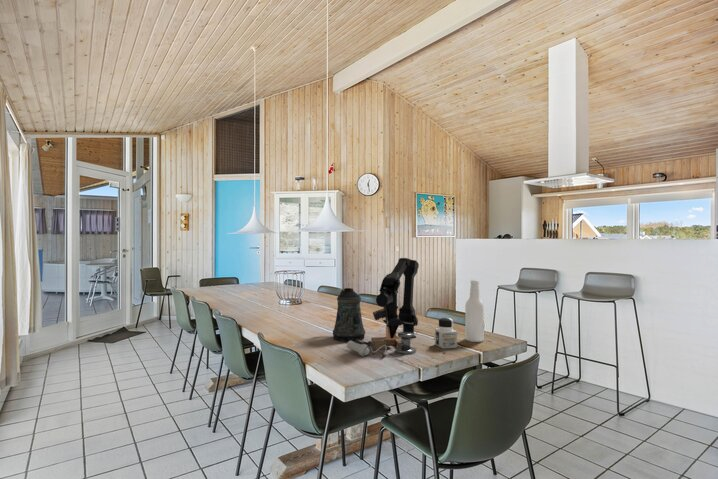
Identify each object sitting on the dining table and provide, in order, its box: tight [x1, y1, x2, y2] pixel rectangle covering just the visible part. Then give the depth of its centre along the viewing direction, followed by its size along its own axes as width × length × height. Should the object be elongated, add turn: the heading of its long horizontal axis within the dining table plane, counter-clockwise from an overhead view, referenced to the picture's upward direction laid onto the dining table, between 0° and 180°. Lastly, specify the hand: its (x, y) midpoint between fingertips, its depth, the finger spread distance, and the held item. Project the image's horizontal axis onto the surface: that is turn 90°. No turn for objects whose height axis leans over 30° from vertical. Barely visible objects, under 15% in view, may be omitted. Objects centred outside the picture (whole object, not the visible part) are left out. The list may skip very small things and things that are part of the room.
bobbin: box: [395, 331, 417, 355], centre depth 178 cm, size 9×9×8 cm
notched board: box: [370, 336, 401, 350], centre depth 189 cm, size 11×16×2 cm
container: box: [434, 317, 458, 349], centre depth 187 cm, size 8×8×13 cm
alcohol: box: [464, 279, 485, 343], centre depth 199 cm, size 9×9×30 cm
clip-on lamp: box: [346, 339, 388, 357], centre depth 174 cm, size 12×6×18 cm
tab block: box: [385, 324, 397, 340], centre depth 186 cm, size 4×4×6 cm
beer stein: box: [332, 287, 366, 343], centre depth 203 cm, size 16×19×25 cm
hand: (390, 336), depth 186 cm, fingers closed on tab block, 4 cm apart
